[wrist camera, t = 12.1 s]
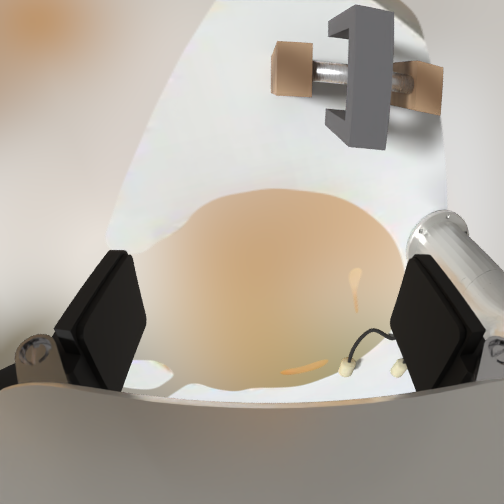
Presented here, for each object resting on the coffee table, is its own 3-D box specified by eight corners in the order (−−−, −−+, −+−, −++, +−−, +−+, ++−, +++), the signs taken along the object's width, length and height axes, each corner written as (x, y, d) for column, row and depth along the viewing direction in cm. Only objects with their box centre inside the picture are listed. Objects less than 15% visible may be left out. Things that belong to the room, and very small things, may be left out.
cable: (358, 315, 56) (362, 327, 53) (427, 319, 57) (433, 330, 54) (334, 369, 64) (336, 381, 61) (398, 369, 64) (402, 380, 61)
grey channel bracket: (353, 127, 35) (385, 150, 26) (324, 124, 35) (348, 146, 26) (357, 25, 28) (394, 12, 19) (328, 21, 28) (355, 4, 19)
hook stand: (387, 103, 37) (440, 115, 24) (270, 92, 37) (276, 95, 25) (389, 69, 35) (443, 67, 22) (271, 56, 35) (277, 41, 22)
